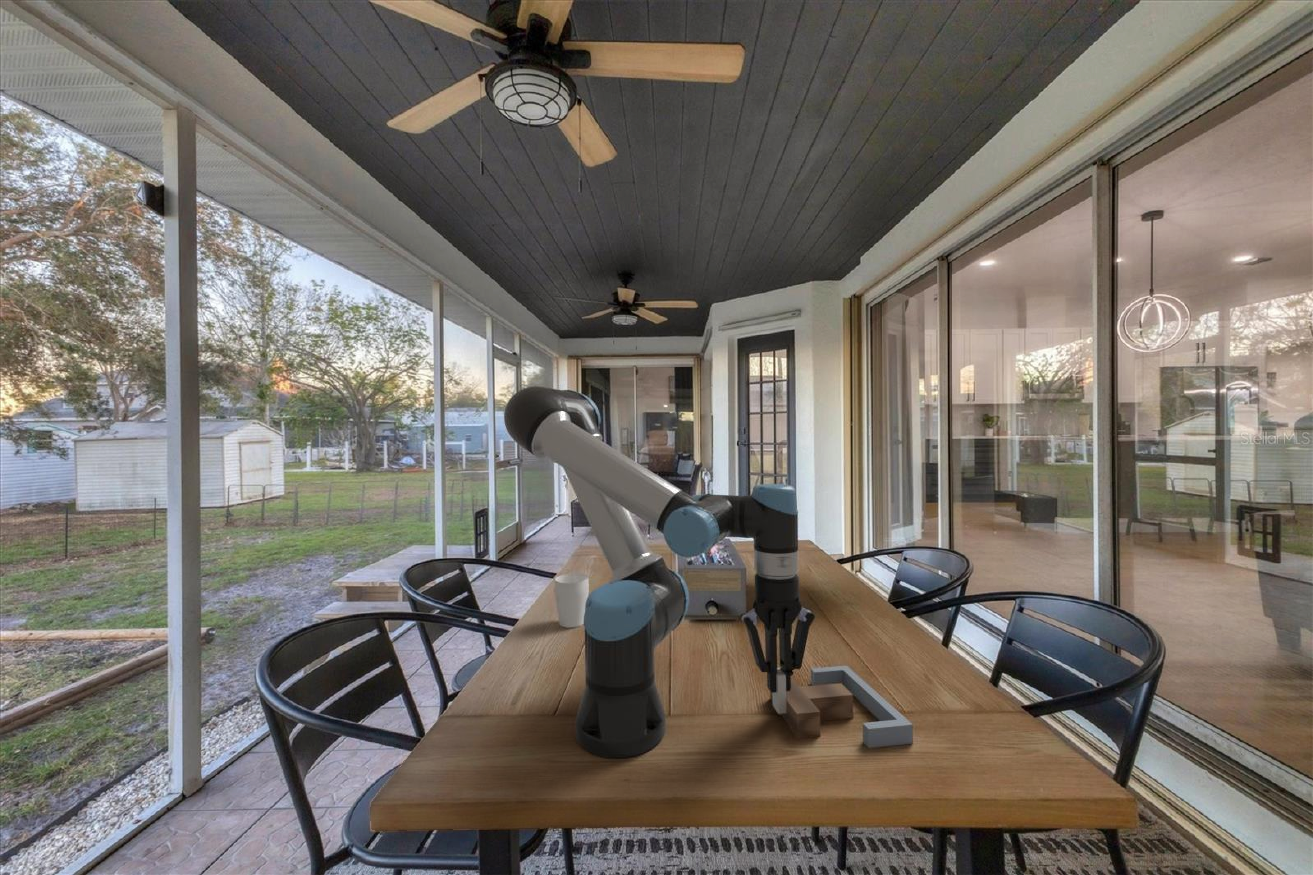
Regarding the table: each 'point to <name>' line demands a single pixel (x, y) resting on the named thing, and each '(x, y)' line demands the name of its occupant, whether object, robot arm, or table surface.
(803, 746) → the table surface
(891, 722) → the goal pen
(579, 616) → the cup
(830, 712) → the walnut T
